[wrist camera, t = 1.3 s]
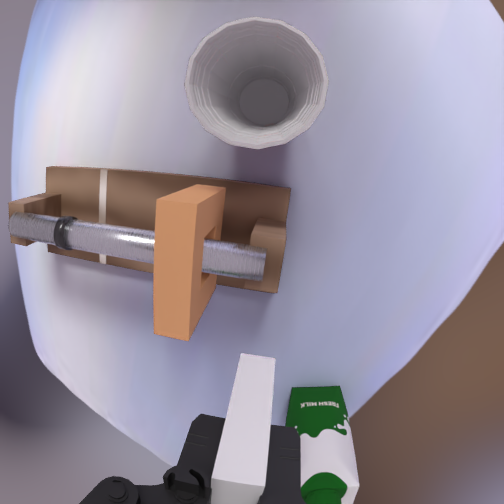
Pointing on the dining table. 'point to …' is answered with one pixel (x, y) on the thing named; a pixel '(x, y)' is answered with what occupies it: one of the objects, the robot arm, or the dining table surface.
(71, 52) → the dining table surface
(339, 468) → the milk carton
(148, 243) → the steel pipe
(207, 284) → the collar
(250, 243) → the pipe stand
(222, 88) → the plastic cup
